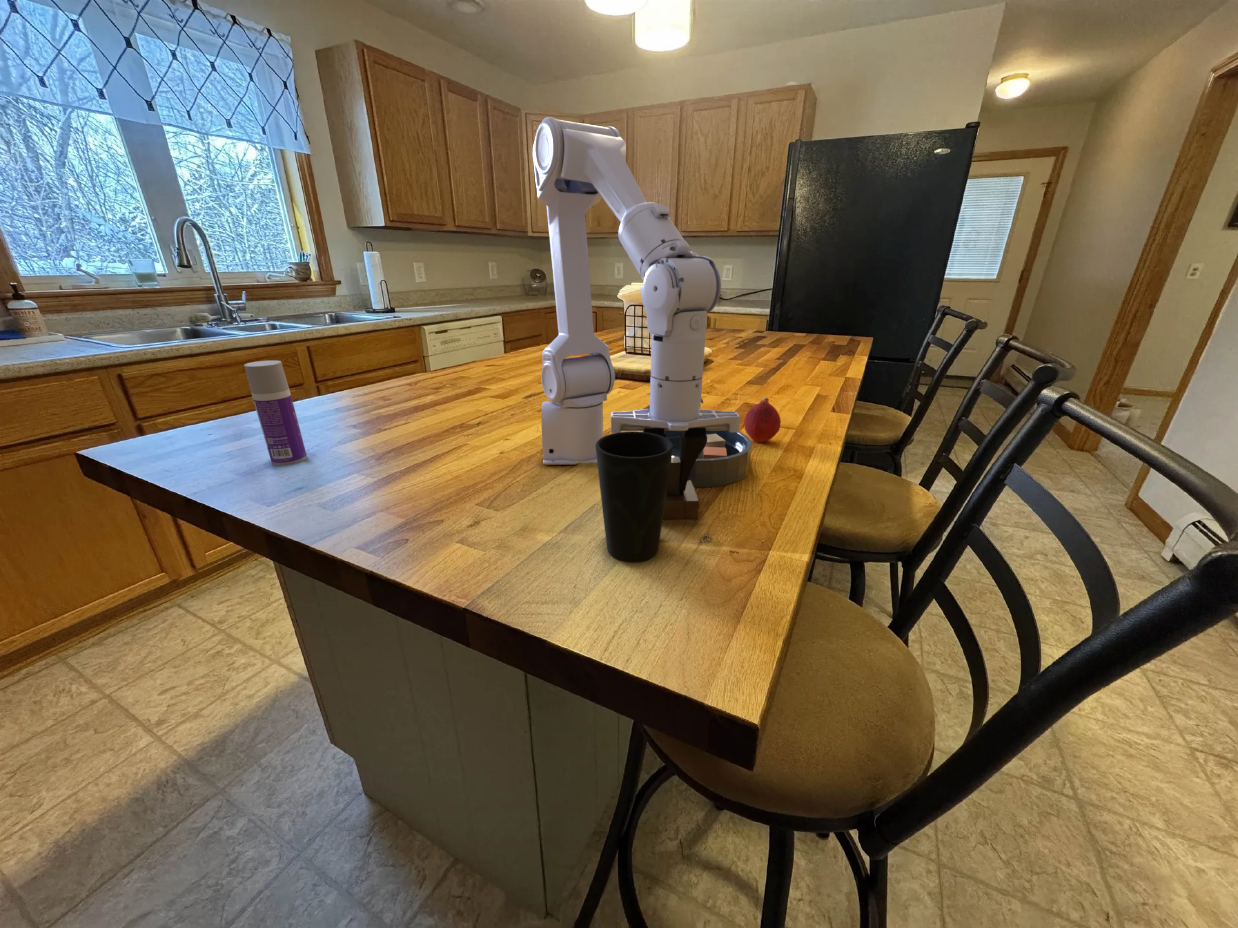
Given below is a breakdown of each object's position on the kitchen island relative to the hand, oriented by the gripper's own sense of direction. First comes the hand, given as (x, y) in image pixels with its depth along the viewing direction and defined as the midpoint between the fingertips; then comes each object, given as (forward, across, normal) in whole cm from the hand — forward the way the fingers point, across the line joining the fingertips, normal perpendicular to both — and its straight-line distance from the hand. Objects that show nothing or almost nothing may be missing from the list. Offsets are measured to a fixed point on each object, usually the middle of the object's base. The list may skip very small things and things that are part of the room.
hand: (671, 487), depth 59 cm
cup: (+4, -5, -8) cm, 10 cm away
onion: (+4, +18, +24) cm, 30 cm away
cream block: (+3, +8, +16) cm, 19 cm away
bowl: (+3, +5, +14) cm, 15 cm away
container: (+4, -57, +18) cm, 60 cm away
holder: (+3, 0, 0) cm, 3 cm away
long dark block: (+3, 0, 0) cm, 3 cm away
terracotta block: (+3, +8, +11) cm, 14 cm away
